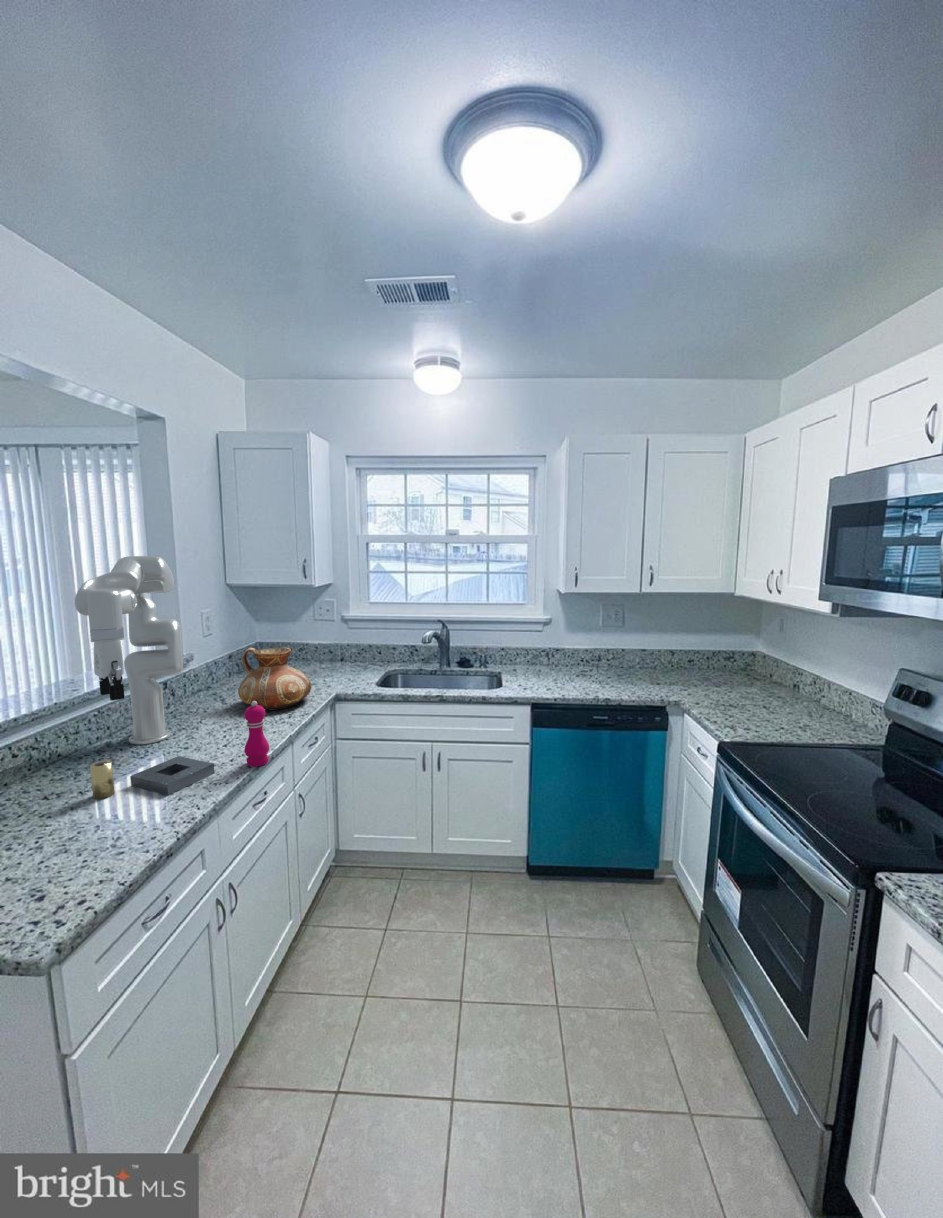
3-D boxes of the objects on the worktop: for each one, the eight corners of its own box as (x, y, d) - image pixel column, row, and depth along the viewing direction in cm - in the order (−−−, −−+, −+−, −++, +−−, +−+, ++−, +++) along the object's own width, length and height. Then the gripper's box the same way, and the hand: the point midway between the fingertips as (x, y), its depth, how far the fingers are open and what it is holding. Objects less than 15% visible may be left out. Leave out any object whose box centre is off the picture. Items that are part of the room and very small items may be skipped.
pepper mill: (243, 768, 156) (239, 705, 153) (247, 759, 163) (243, 698, 160) (268, 766, 158) (265, 703, 155) (271, 756, 165) (267, 696, 162)
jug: (298, 690, 243) (296, 638, 240) (324, 704, 220) (322, 647, 217) (231, 702, 224) (227, 646, 221) (252, 719, 201) (248, 657, 198)
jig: (131, 786, 145) (130, 775, 145) (179, 765, 159) (178, 756, 158) (168, 795, 139) (167, 784, 139) (214, 773, 153) (213, 763, 153)
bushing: (89, 797, 138) (85, 765, 137) (107, 790, 143) (104, 758, 142) (100, 801, 136) (97, 768, 135) (118, 793, 141) (115, 761, 140)
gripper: (82, 634, 142) (87, 694, 144) (99, 639, 131) (104, 704, 132) (114, 631, 148) (119, 689, 149) (132, 635, 136) (137, 698, 138)
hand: (112, 696), depth 141 cm, fingers open, 9 cm apart
